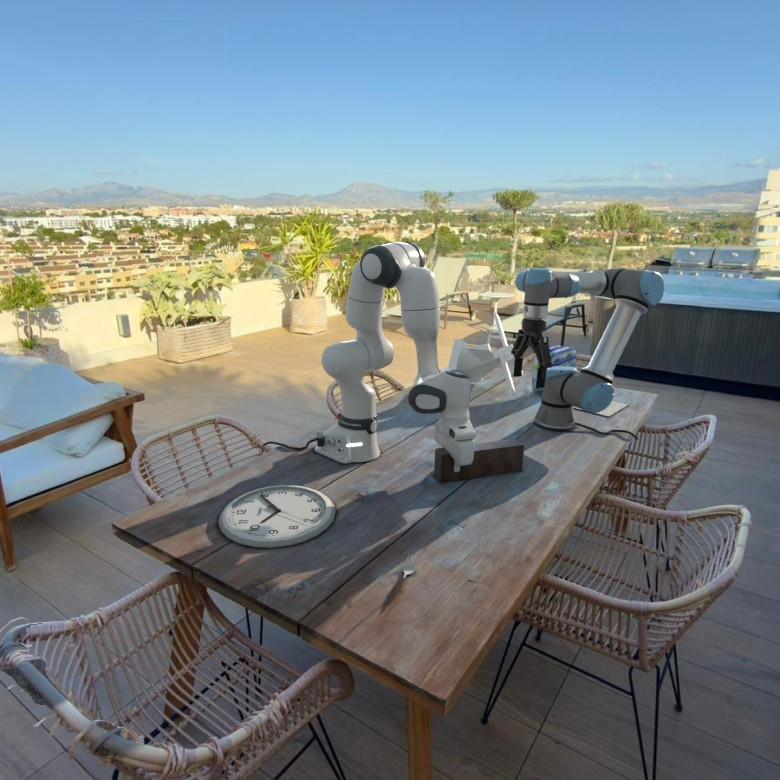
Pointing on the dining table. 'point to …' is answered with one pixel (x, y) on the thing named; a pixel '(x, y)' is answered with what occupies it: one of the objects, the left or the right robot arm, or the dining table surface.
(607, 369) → the right robot arm
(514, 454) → the walnut beam
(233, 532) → the wall clock
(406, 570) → the fork
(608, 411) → the invitation card
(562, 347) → the lunch box
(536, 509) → the dining table surface
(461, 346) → the white plastic object
